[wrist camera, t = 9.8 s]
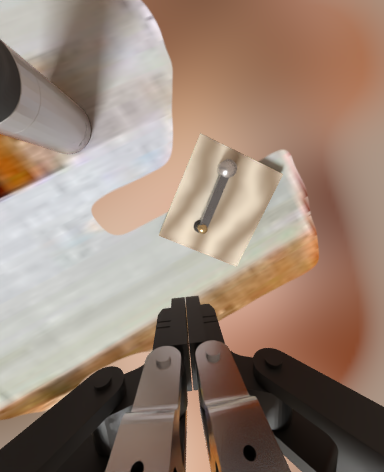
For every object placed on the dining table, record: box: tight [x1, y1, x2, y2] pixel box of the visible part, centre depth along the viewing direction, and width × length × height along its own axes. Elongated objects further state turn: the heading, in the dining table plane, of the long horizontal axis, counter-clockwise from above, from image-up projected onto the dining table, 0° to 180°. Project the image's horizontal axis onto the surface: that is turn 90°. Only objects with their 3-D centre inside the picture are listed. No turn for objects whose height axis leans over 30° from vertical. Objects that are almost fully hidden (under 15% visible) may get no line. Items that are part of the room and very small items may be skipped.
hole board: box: [159, 134, 283, 267], centre depth 41 cm, size 18×21×2 cm
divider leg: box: [197, 159, 237, 234], centre depth 39 cm, size 14×3×2 cm, turn 158°
